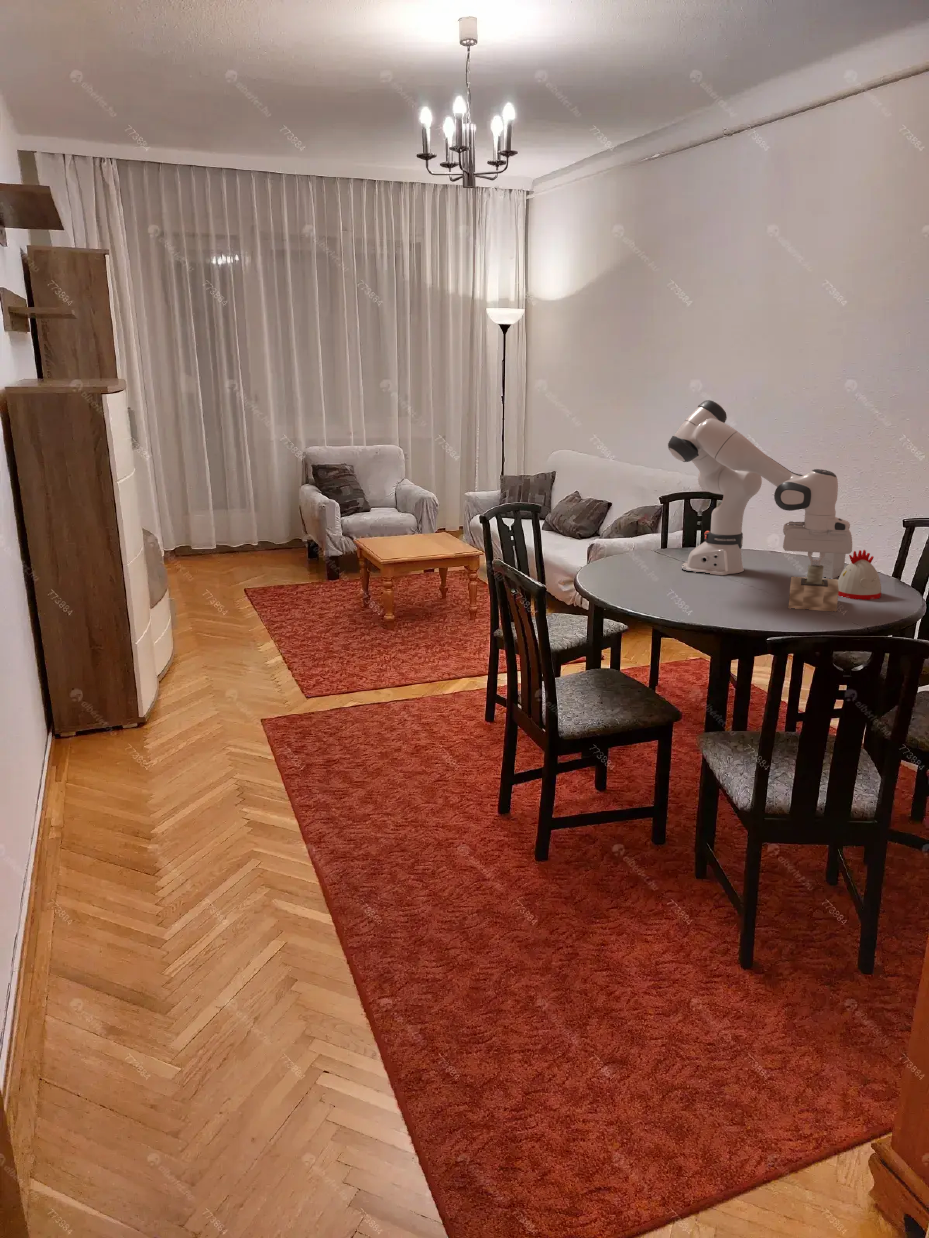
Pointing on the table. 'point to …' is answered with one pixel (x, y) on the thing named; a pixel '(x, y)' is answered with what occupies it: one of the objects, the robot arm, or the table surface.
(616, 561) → the table surface
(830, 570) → the skincare box
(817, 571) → the peg
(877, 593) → the kitchen timer
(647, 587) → the table surface
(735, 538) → the robot arm
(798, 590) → the birch holder
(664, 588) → the table surface
